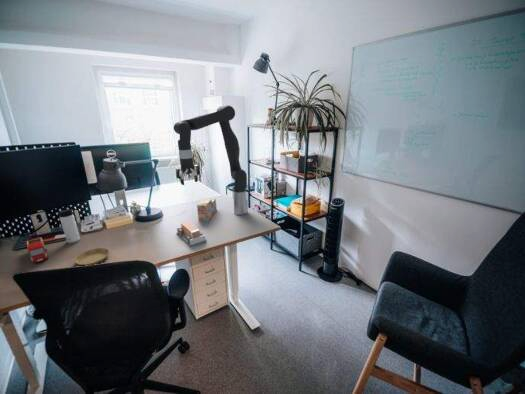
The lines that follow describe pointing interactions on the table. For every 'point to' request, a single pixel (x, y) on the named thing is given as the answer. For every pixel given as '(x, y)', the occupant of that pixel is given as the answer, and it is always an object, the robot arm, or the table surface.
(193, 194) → the table surface
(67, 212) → the travel mug
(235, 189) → the robot arm
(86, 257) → the plant saucer
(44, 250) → the toy truck
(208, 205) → the stack of blocks
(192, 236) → the peach lotion tube
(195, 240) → the cradle jig
